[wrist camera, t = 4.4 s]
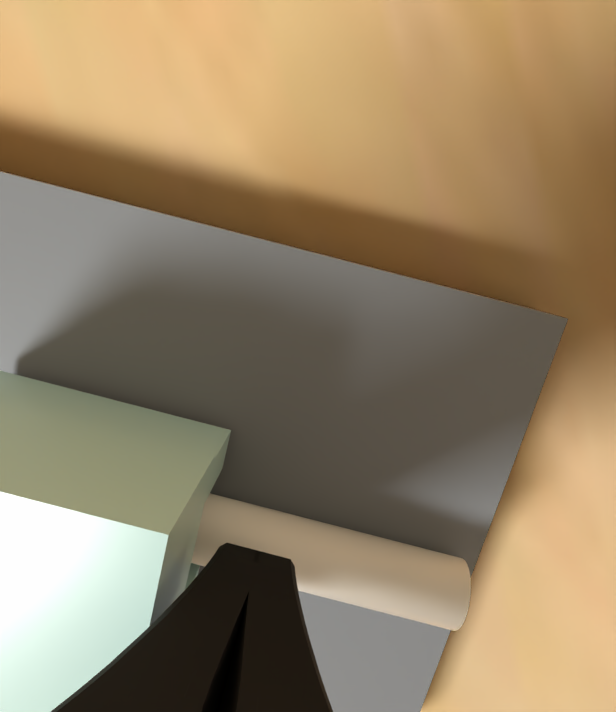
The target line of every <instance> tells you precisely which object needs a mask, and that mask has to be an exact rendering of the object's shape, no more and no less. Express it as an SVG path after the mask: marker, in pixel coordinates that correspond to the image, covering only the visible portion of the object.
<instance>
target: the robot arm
mask: <svg viewBox="0 0 616 712" xmlns="http://www.w3.org/2000/svg"><path fill="white" fill-rule="evenodd" d="M51 712H333V710H332V707H331V704H330V702H329V699H328V696H327V693H326V690H325V687H324V684H323V681H322V678H321V675H320V672H319V669H318V665H317V662H316V659H315V655H314V652H313V649H312V645H311V642H310V639H309V635H308V631H307V627H306V624H305V620H304V615H303V611H302V607H301V602H300V598H299V593H298V587H297V581H296V574H295V566H294V564H293V562H292V561H291V559H288V558H285V557H281V556H277V555H273V554H269V553H265V552H261V551H258V550H254V549H250V548H246V547H242V546H238V545H235V544H231V543H225V544H223V545H221V546H219V548H218V549H217V551H216V553H215V554H214V555H213V557H212V558H211V560H210V561H209V562H208V564H207V565H206V566H205V567H204V569H203V570H202V571H201V572H200V573H199V575H198V576H197V577H196V578H195V579H194V580H193V581H192V583H191V584H190V585H189V586H188V587H187V588H186V589H185V591H184V592H183V593H182V594H181V595H180V596H179V597H178V598H177V599H176V600H175V601H174V602H173V603H172V604H171V605H170V606H169V607H168V608H167V609H166V610H165V611H164V612H163V613H162V615H161V616H160V617H159V618H158V619H157V620H156V621H155V622H154V623H153V624H152V625H151V626H149V627H148V628H147V629H146V630H145V631H144V632H143V633H142V634H141V635H140V636H139V637H138V638H137V639H135V640H134V641H133V642H132V643H131V644H130V645H129V646H128V647H127V648H126V649H125V650H123V651H122V652H121V653H120V654H119V655H118V656H117V657H116V658H115V659H114V660H113V661H111V662H110V663H109V664H108V665H107V666H106V667H105V668H103V669H102V670H101V671H100V672H99V673H98V674H96V675H95V676H94V677H93V678H92V679H90V680H89V681H88V682H87V683H86V684H84V685H83V686H82V687H81V688H80V689H78V690H77V691H76V692H75V693H74V694H72V695H71V696H70V697H68V698H67V699H66V700H65V701H63V702H62V703H61V704H60V705H58V706H57V707H56V708H54V709H53V710H52V711H51Z"/></svg>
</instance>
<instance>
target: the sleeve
mask: <svg viewBox="0 0 616 712" xmlns="http://www.w3.org/2000/svg"><path fill="white" fill-rule="evenodd" d="M230 433H231V430H229V429H225V428H221V427H217V426H213V425H209V424H206V423H202V422H198V421H194V420H190V419H186V418H182V417H178V416H175V415H171V414H167V413H163V412H159V411H155V410H151V409H147V408H144V407H140V406H136V405H132V404H128V403H124V402H120V401H116V400H113V399H109V398H105V397H101V396H97V395H93V394H89V393H85V392H82V391H78V390H74V389H70V388H66V387H62V386H58V385H55V384H51V383H47V382H43V381H39V380H35V379H31V378H27V377H24V376H20V375H16V374H12V373H8V372H4V371H0V712H51V711H52V710H53V709H54V708H56V707H57V706H58V705H60V704H61V703H62V702H63V701H65V700H66V699H67V698H68V697H70V696H71V695H72V694H74V693H75V692H76V691H77V690H78V689H80V688H81V687H82V686H83V685H84V684H86V683H87V682H88V681H89V680H90V679H92V678H93V677H94V676H95V675H96V674H98V673H99V672H100V671H101V670H102V669H103V668H105V667H106V666H107V665H108V664H109V663H110V662H111V661H113V660H114V659H115V658H116V657H117V656H118V655H119V654H120V653H121V652H122V651H123V650H125V649H126V648H127V647H128V646H129V645H130V644H131V643H132V642H133V641H134V640H135V639H137V638H138V637H139V636H140V635H141V634H142V633H143V632H144V631H145V630H146V629H147V628H148V627H149V626H151V625H152V624H153V623H154V622H155V621H156V620H157V619H158V618H159V617H160V616H161V615H162V613H163V612H164V611H165V610H166V609H167V608H168V607H169V606H170V605H171V604H172V603H173V602H174V601H175V600H176V599H177V598H178V597H179V596H180V595H181V594H182V593H183V592H184V591H185V589H186V588H187V587H188V586H189V585H190V584H191V583H192V581H193V580H194V579H195V578H196V577H197V576H198V572H199V568H200V565H197V564H193V563H191V561H192V556H193V552H194V547H195V543H196V539H197V534H198V530H199V525H200V521H201V516H202V512H203V508H204V504H205V502H206V500H207V498H208V496H209V494H210V492H211V490H212V488H213V486H214V484H215V482H216V480H217V478H218V476H219V474H220V472H221V470H222V468H223V464H224V459H225V455H226V451H227V446H228V442H229V438H230Z"/></svg>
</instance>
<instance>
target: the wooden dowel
mask: <svg viewBox="0 0 616 712" xmlns="http://www.w3.org/2000/svg"><path fill="white" fill-rule="evenodd" d="M225 543H231V544H235V545H238V546H242V547H246V548H250V549H254V550H258V551H261V552H265V553H269V554H273V555H277V556H281V557H285V558H288V559H291V561H292V562H293V564H294V566H295V574H296V581H297V587H298V591H301V592H305V593H309V594H313V595H317V596H321V597H325V598H329V599H332V600H336V601H340V602H344V603H348V604H352V605H356V606H360V607H363V608H367V609H371V610H375V611H379V612H383V613H387V614H391V615H394V616H398V617H402V618H406V619H410V620H414V621H418V622H422V623H426V624H429V625H433V626H437V627H441V628H445V629H449V630H453V631H456V630H458V629H459V628H460V627H461V626H462V625H463V623H464V621H465V618H466V616H467V612H468V608H469V603H470V595H471V579H470V572H469V568H468V565H467V563H466V561H465V560H464V559H462V558H459V557H455V556H451V555H447V554H443V553H440V552H436V551H432V550H428V549H424V548H420V547H416V546H412V545H409V544H405V543H401V542H397V541H393V540H389V539H385V538H381V537H377V536H374V535H370V534H366V533H362V532H358V531H354V530H350V529H346V528H343V527H339V526H335V525H331V524H327V523H323V522H319V521H315V520H312V519H308V518H304V517H300V516H296V515H292V514H288V513H284V512H281V511H277V510H273V509H269V508H265V507H261V506H257V505H253V504H250V503H246V502H242V501H238V500H234V499H230V498H226V497H222V496H219V495H215V494H211V493H210V494H209V496H208V498H207V500H206V502H205V504H204V508H203V512H202V516H201V521H200V525H199V530H198V534H197V539H196V543H195V547H194V552H193V556H192V561H191V563H193V564H197V565H200V566H204V567H205V566H206V565H207V564H208V562H209V561H210V560H211V558H212V557H213V555H214V554H215V553H216V551H217V549H218V548H219V546H221V545H223V544H225Z"/></svg>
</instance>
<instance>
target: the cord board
mask: <svg viewBox="0 0 616 712" xmlns="http://www.w3.org/2000/svg"><path fill="white" fill-rule="evenodd" d="M567 321H568V319H567V318H563V317H560V316H557V315H553V314H550V313H546V312H543V311H540V310H536V309H532V308H528V307H524V306H521V305H517V304H513V303H509V302H505V301H501V300H497V299H494V298H490V297H486V296H482V295H478V294H474V293H470V292H467V291H463V290H459V289H455V288H451V287H447V286H443V285H440V284H436V283H432V282H428V281H424V280H420V279H416V278H413V277H409V276H405V275H401V274H397V273H393V272H389V271H386V270H382V269H378V268H374V267H370V266H366V265H362V264H359V263H355V262H351V261H347V260H343V259H339V258H335V257H332V256H328V255H324V254H320V253H316V252H312V251H308V250H305V249H301V248H297V247H293V246H289V245H285V244H281V243H277V242H274V241H270V240H266V239H262V238H258V237H254V236H250V235H247V234H243V233H239V232H235V231H231V230H227V229H223V228H220V227H216V226H212V225H208V224H204V223H200V222H196V221H193V220H189V219H185V218H181V217H177V216H173V215H169V214H166V213H162V212H158V211H154V210H150V209H146V208H142V207H139V206H135V205H131V204H127V203H123V202H119V201H115V200H112V199H108V198H104V197H100V196H96V195H92V194H88V193H85V192H81V191H77V190H73V189H69V188H65V187H61V186H58V185H54V184H50V183H46V182H42V181H38V180H34V179H31V178H27V177H23V176H19V175H15V174H11V173H7V172H4V171H0V371H4V372H8V373H12V374H16V375H20V376H24V377H27V378H31V379H35V380H39V381H43V382H47V383H51V384H55V385H58V386H62V387H66V388H70V389H74V390H78V391H82V392H85V393H89V394H93V395H97V396H101V397H105V398H109V399H113V400H116V401H120V402H124V403H128V404H132V405H136V406H140V407H144V408H147V409H151V410H155V411H159V412H163V413H167V414H171V415H175V416H178V417H182V418H186V419H190V420H194V421H198V422H202V423H206V424H209V425H213V426H217V427H221V428H225V429H229V430H231V433H230V438H229V442H228V446H227V451H226V455H225V459H224V464H223V468H222V470H221V472H220V474H219V476H218V478H217V480H216V482H215V484H214V486H213V488H212V490H211V492H210V493H211V494H215V495H219V496H222V497H226V498H230V499H234V500H238V501H242V502H246V503H250V504H253V505H257V506H261V507H265V508H269V509H273V510H277V511H281V512H284V513H288V514H292V515H296V516H300V517H304V518H308V519H312V520H315V521H319V522H323V523H327V524H331V525H335V526H339V527H343V528H346V529H350V530H354V531H358V532H362V533H366V534H370V535H374V536H377V537H381V538H385V539H389V540H393V541H397V542H401V543H405V544H409V545H412V546H416V547H420V548H424V549H428V550H432V551H436V552H440V553H443V554H447V555H451V556H455V557H459V558H462V559H464V560H465V561H466V563H467V565H468V568H469V572H470V578H471V575H472V573H473V570H474V567H475V565H476V562H477V559H478V557H479V554H480V551H481V549H482V546H483V543H484V541H485V538H486V536H487V533H488V530H489V528H490V525H491V522H492V520H493V517H494V514H495V512H496V509H497V506H498V504H499V501H500V498H501V496H502V493H503V490H504V488H505V485H506V482H507V480H508V477H509V474H510V472H511V469H512V467H513V464H514V461H515V459H516V456H517V453H518V451H519V448H520V445H521V443H522V440H523V437H524V435H525V432H526V429H527V427H528V424H529V421H530V419H531V416H532V413H533V411H534V408H535V405H536V403H537V400H538V398H539V395H540V392H541V390H542V387H543V384H544V382H545V379H546V376H547V374H548V371H549V368H550V366H551V363H552V360H553V358H554V355H555V352H556V350H557V347H558V344H559V342H560V339H561V336H562V334H563V331H564V328H565V326H566V323H567ZM203 569H204V566H200V568H199V572H198V575H199V573H200V572H201V571H202V570H203ZM298 593H299V598H300V602H301V607H302V611H303V615H304V620H305V624H306V627H307V631H308V635H309V639H310V642H311V645H312V649H313V652H314V655H315V659H316V662H317V665H318V669H319V672H320V675H321V678H322V681H323V684H324V687H325V690H326V693H327V696H328V699H329V702H330V704H331V707H332V710H333V712H420V711H421V708H422V705H423V703H424V700H425V697H426V695H427V692H428V689H429V687H430V684H431V681H432V679H433V676H434V674H435V671H436V668H437V666H438V663H439V660H440V658H441V655H442V652H443V650H444V647H445V644H446V642H447V639H448V636H449V634H450V631H451V630H449V629H445V628H441V627H437V626H433V625H429V624H426V623H422V622H418V621H414V620H410V619H406V618H402V617H398V616H394V615H391V614H387V613H383V612H379V611H375V610H371V609H367V608H363V607H360V606H356V605H352V604H348V603H344V602H340V601H336V600H332V599H329V598H325V597H321V596H317V595H313V594H309V593H305V592H301V591H298Z"/></svg>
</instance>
